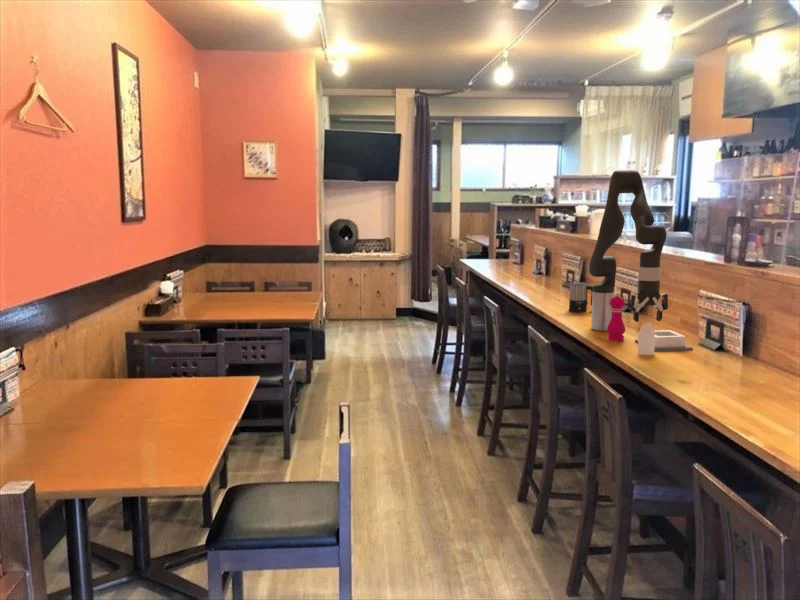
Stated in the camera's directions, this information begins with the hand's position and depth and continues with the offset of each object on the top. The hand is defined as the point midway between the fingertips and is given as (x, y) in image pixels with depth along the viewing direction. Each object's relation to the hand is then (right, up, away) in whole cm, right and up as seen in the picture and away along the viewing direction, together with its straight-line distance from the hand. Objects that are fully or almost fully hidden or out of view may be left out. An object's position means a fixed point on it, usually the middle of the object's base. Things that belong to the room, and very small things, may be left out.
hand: (647, 321), depth 234 cm
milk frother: (+1, +3, +95) cm, 95 cm away
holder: (+12, -10, +14) cm, 21 cm away
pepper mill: (-3, -9, +26) cm, 27 cm away
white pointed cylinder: (0, -13, +2) cm, 13 cm away
